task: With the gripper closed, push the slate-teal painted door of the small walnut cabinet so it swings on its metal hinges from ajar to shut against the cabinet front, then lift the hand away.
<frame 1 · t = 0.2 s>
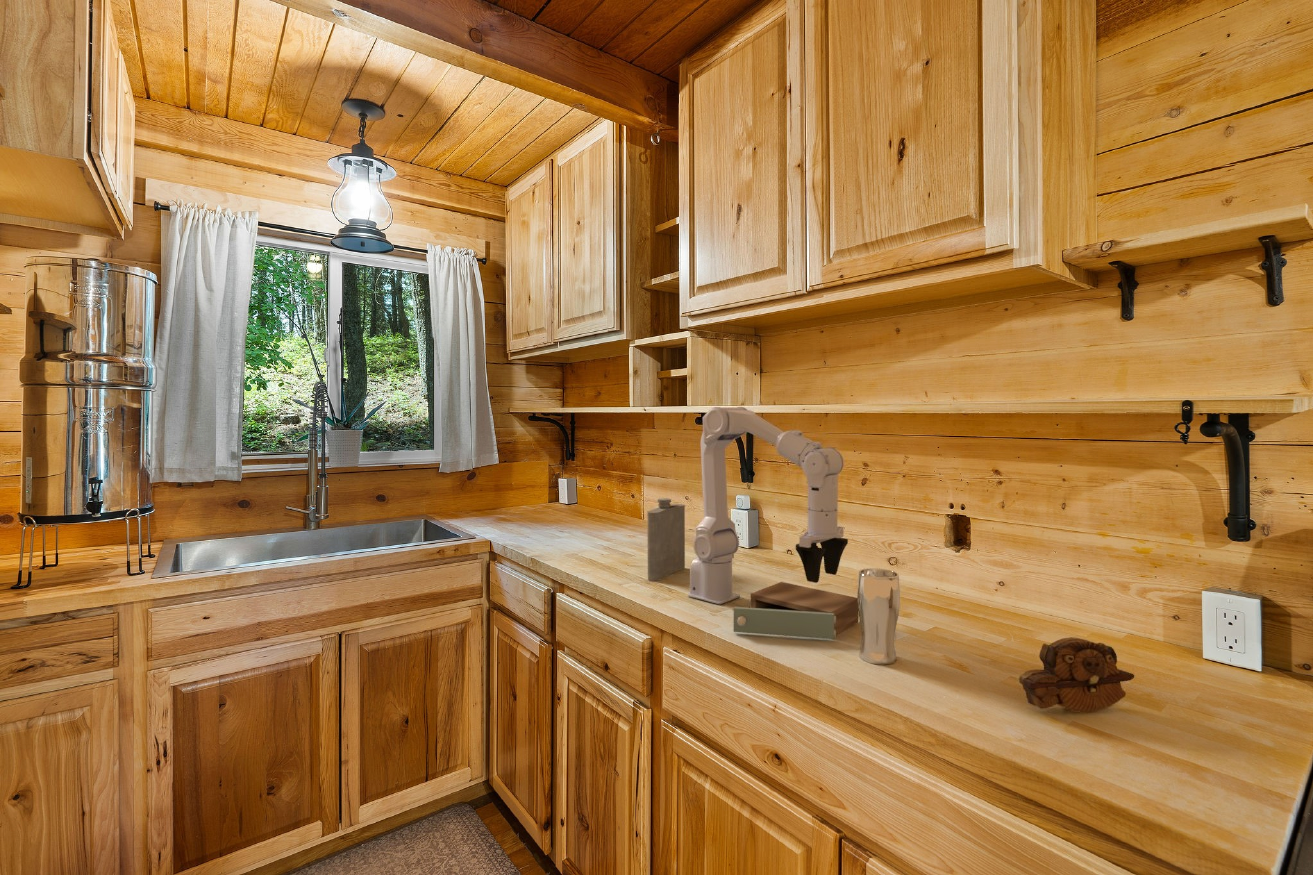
hand: (821, 577, 123), 10 cm above the counter, tool pointing down, fingers open, 7 cm apart
hip flask: (665, 574, 165), on the counter
cabinet door: (783, 623, 118), point 3 cm above the counter, hinge at 30.0°
beer glass: (877, 659, 108), on the counter
cabinet: (803, 619, 128), on the counter
wooden carving: (1077, 711, 89), on the counter
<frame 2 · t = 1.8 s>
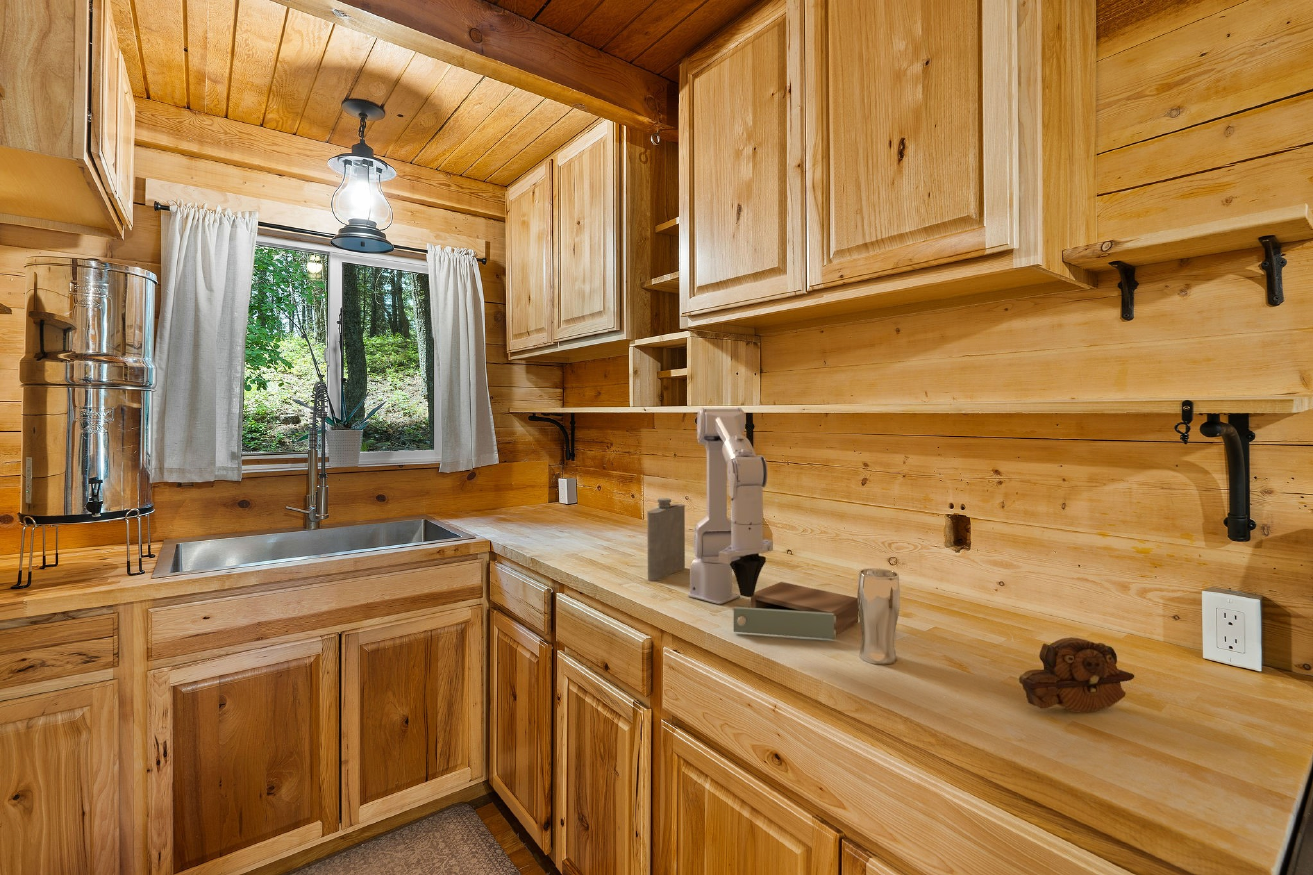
hand: (746, 595, 115), 9 cm above the counter, tool pointing down, fingers closed
nothing on the counter moved.
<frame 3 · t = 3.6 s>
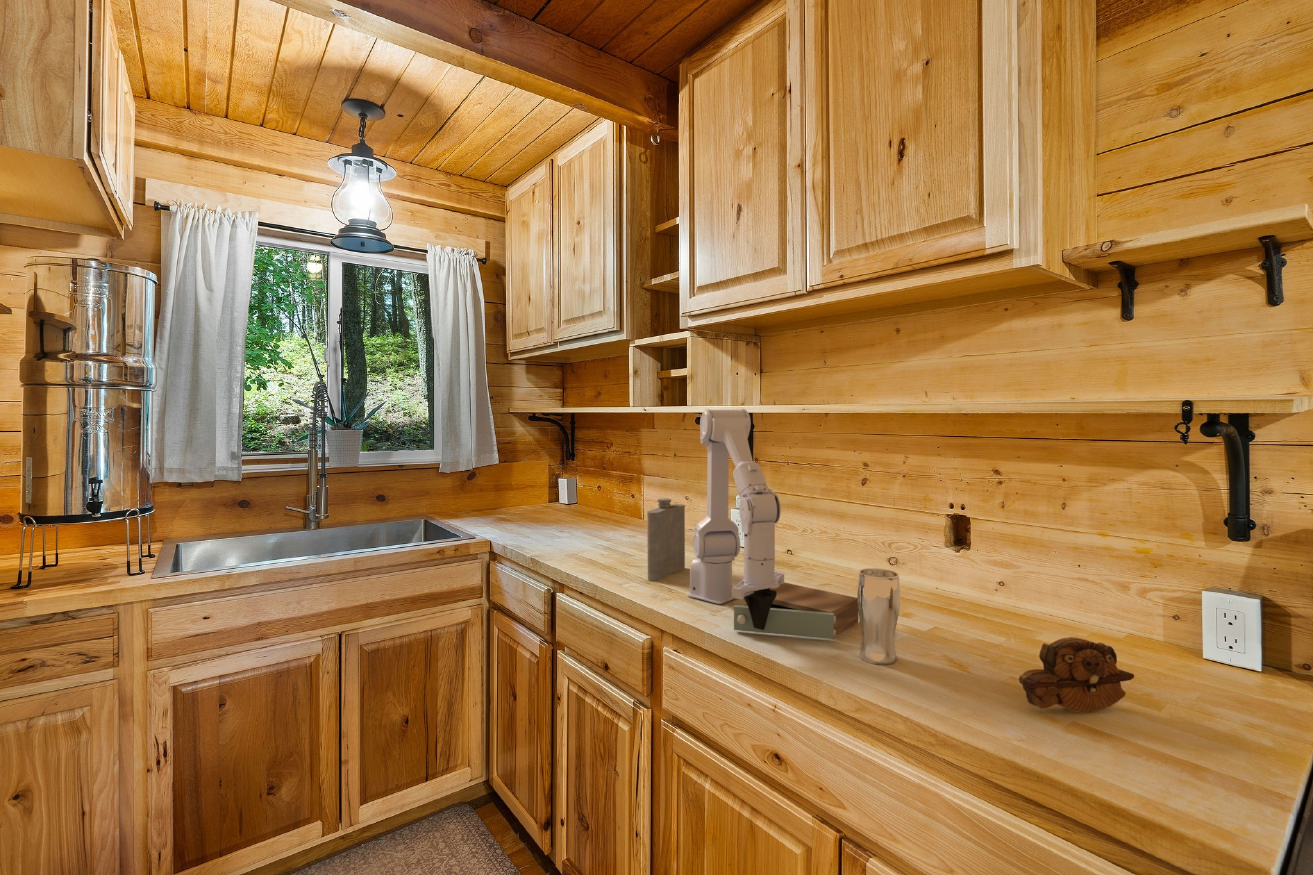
hand: (759, 628, 118), 2 cm above the counter, tool pointing down, fingers closed
cabinet door: (783, 622, 118), point 3 cm above the counter, hinge at 26.7°, touching gripper
everything else where it was.
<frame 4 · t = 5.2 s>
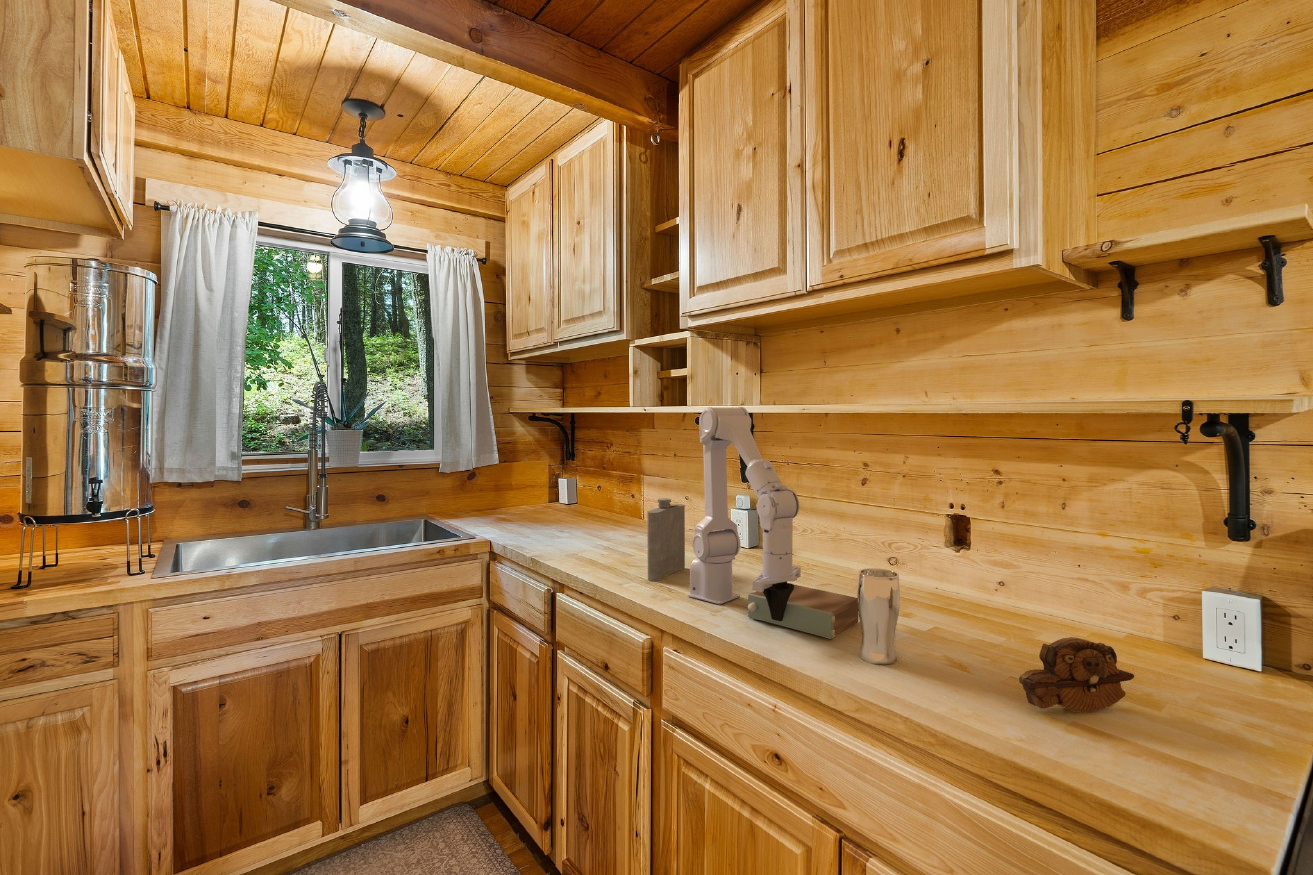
hand: (777, 619, 123), 2 cm above the counter, tool pointing down, fingers closed
cabinet door: (788, 615, 122), point 3 cm above the counter, hinge at -0.2°, touching gripper
everything else where it was.
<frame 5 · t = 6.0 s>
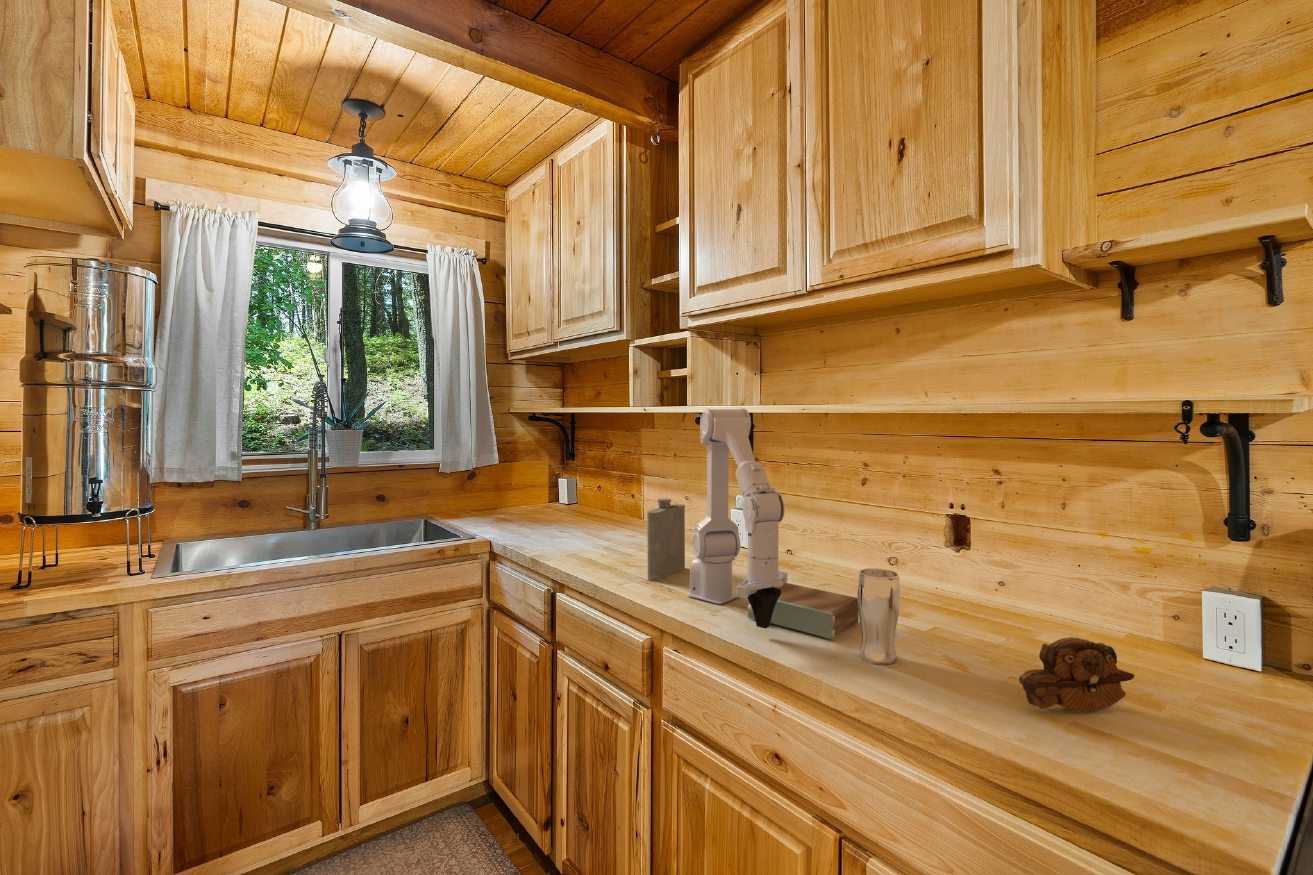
hand: (762, 626, 119), 2 cm above the counter, tool pointing down, fingers closed
cabinet door: (788, 615, 122), point 3 cm above the counter, hinge at -0.2°
everything else where it was.
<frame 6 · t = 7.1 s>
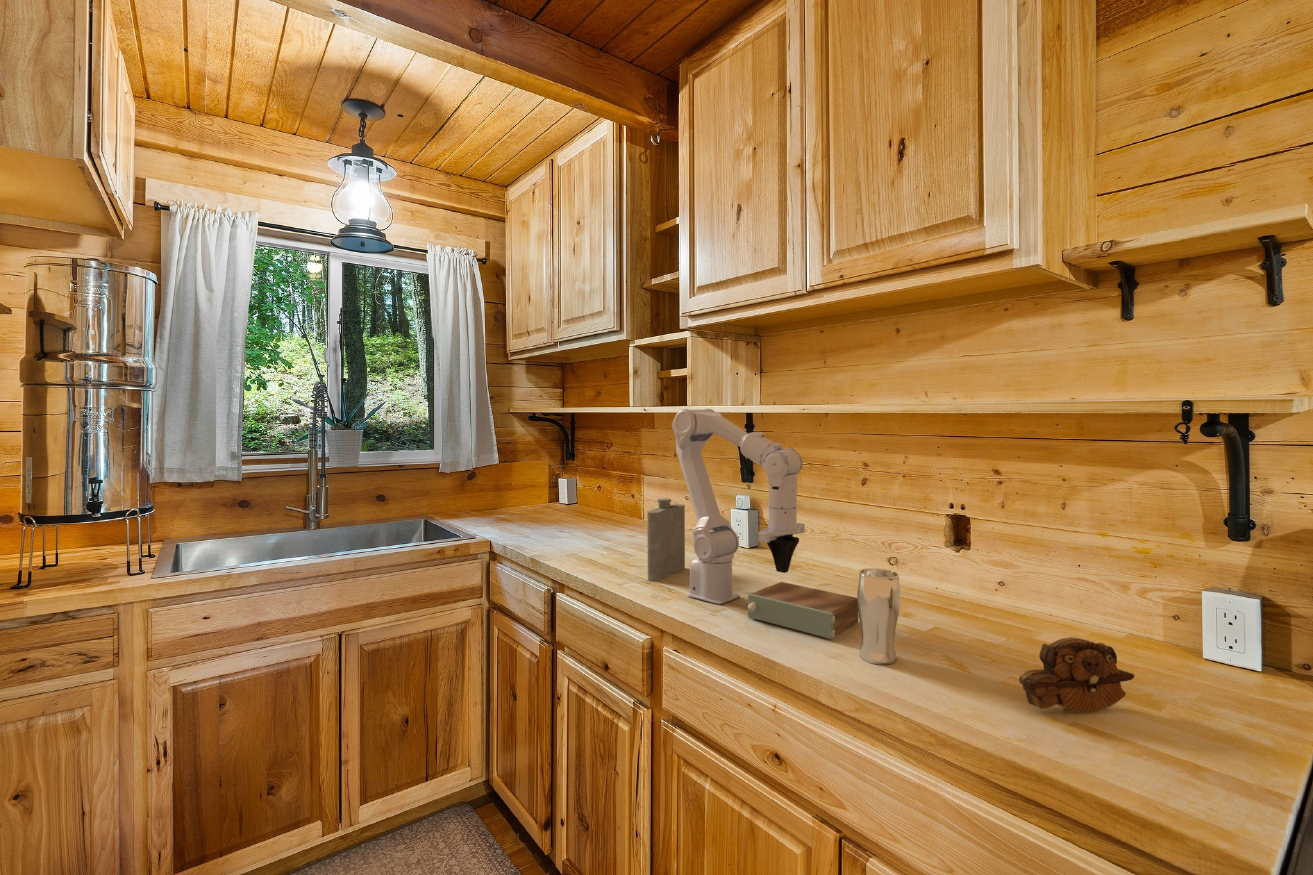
hand: (782, 571, 131), 9 cm above the counter, tool pointing down, fingers closed
nothing on the counter moved.
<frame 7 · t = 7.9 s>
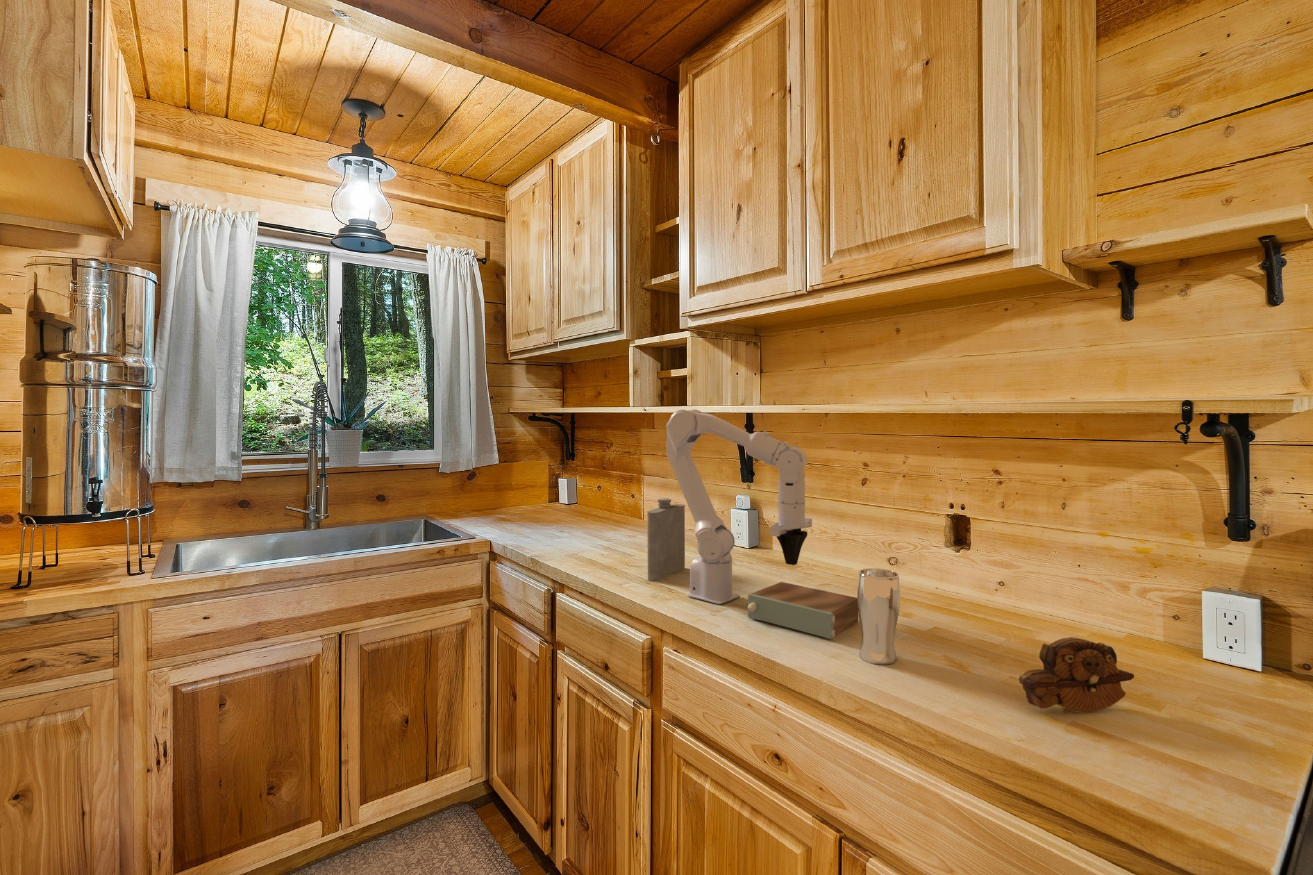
hand: (791, 564, 137), 9 cm above the counter, tool pointing down, fingers closed
nothing on the counter moved.
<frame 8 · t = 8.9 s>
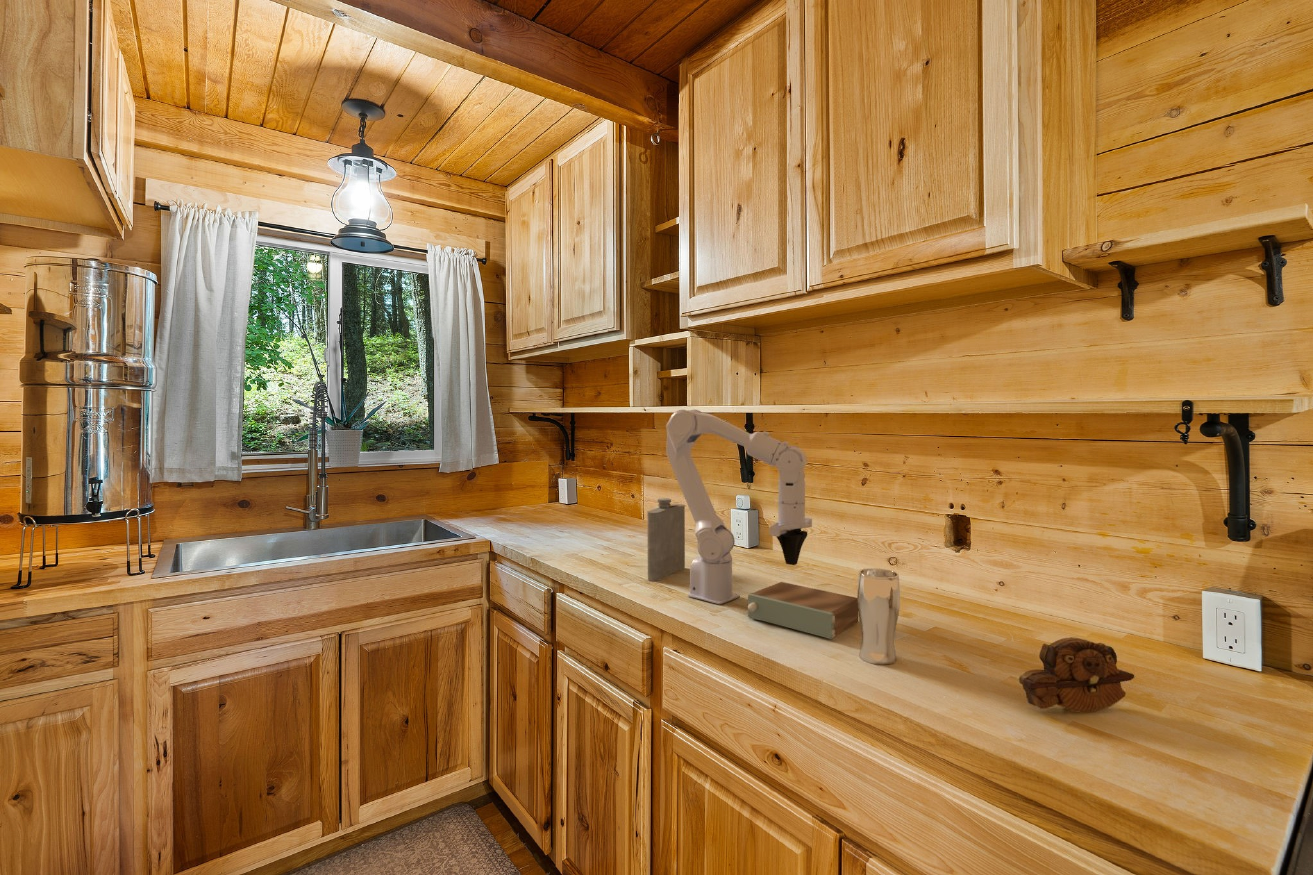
hand: (791, 564, 137), 9 cm above the counter, tool pointing down, fingers closed
nothing on the counter moved.
at the end: cabinet door at +0° (first picture: +30°); beer glass moved 0.2 cm from its start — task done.
